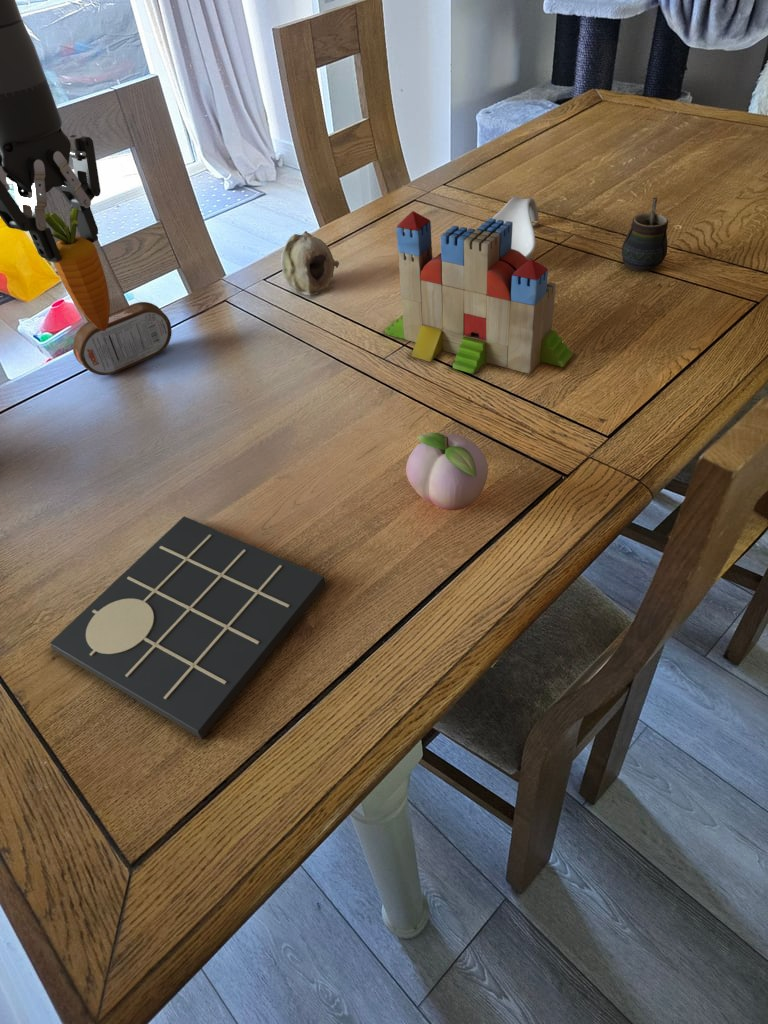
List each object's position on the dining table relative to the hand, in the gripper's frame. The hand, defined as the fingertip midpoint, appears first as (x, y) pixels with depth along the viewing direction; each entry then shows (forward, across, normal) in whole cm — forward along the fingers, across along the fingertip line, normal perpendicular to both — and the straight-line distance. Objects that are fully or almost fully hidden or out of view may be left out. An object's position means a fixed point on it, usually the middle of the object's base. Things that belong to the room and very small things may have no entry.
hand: (72, 249), depth 80 cm
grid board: (+25, +22, +30) cm, 45 cm away
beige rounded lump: (+25, -43, 0) cm, 50 cm away
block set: (+25, -37, +34) cm, 56 cm away
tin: (+25, -11, -13) cm, 30 cm away
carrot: (+11, 0, 0) cm, 11 cm away
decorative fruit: (+25, -4, +46) cm, 52 cm away
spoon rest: (+25, -68, +26) cm, 77 cm away
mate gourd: (+25, -70, +50) cm, 90 cm away
